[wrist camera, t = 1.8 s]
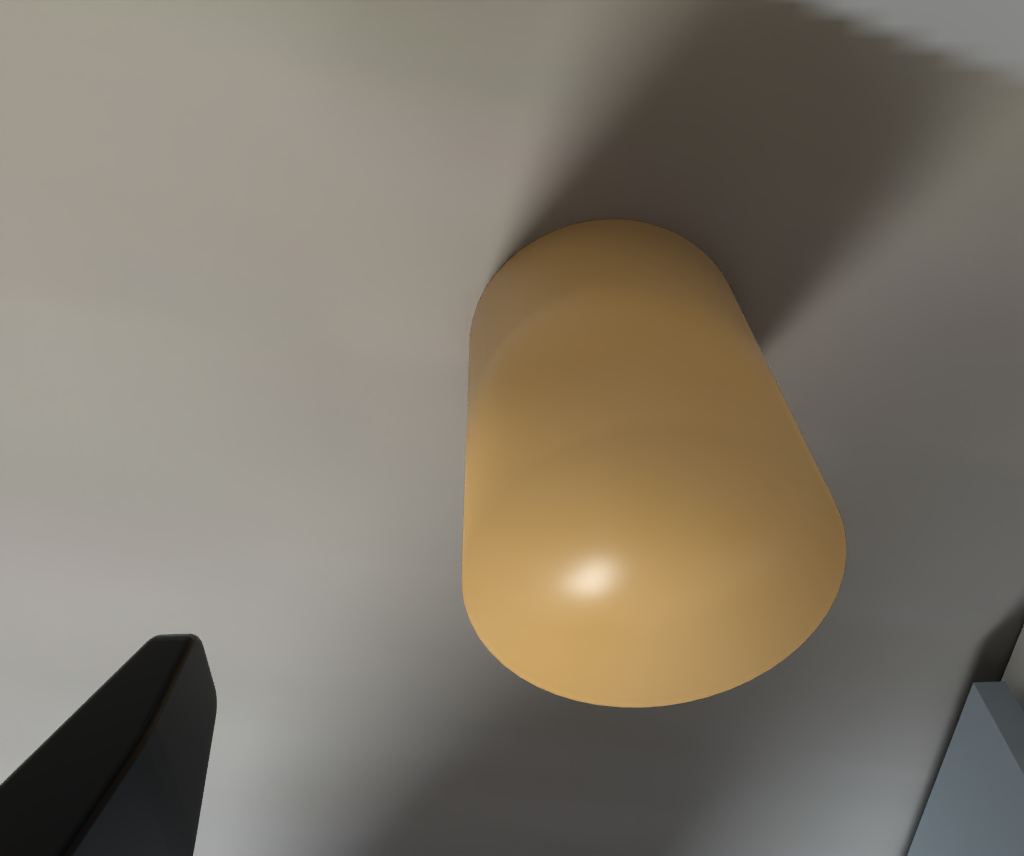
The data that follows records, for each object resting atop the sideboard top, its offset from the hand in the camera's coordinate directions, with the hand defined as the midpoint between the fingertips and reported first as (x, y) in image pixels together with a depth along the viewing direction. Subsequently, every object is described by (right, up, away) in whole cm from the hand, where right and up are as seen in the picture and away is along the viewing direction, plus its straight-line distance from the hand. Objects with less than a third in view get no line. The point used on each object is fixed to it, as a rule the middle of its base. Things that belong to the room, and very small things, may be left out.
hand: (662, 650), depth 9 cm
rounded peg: (0, +3, +5) cm, 6 cm away
